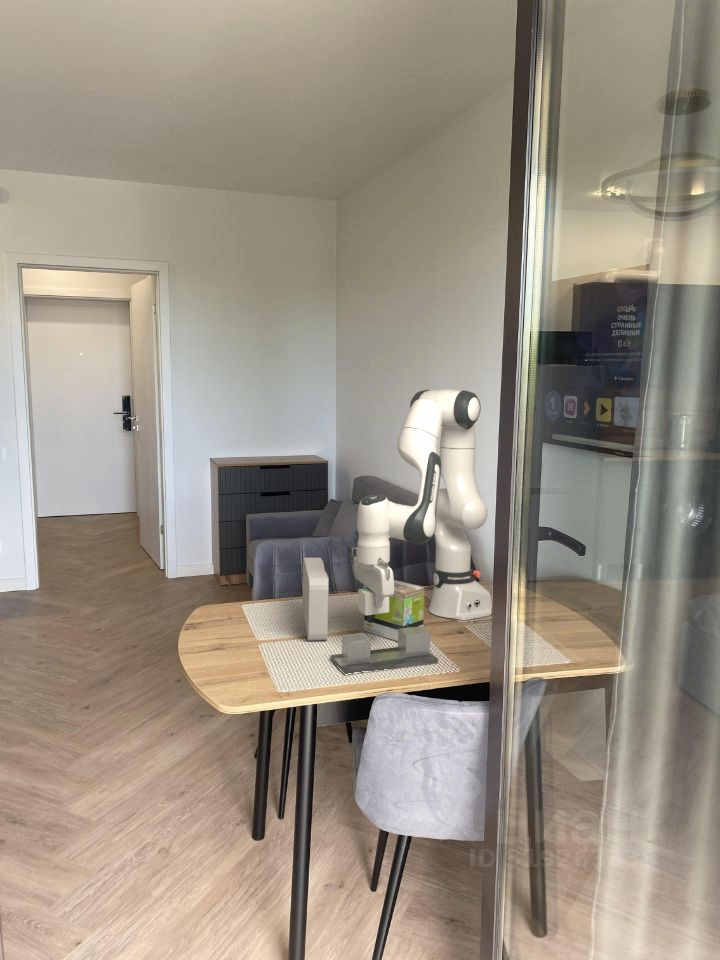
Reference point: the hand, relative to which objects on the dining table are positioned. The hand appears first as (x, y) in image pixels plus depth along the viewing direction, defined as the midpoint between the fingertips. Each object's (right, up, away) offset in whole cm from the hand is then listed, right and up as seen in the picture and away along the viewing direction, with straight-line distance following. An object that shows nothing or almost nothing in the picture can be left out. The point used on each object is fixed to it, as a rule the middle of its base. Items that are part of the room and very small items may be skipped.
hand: (373, 603), depth 203 cm
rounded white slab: (-18, -10, +16) cm, 26 cm away
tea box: (+6, -11, +11) cm, 17 cm away
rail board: (+2, -13, -10) cm, 17 cm away
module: (0, -2, 0) cm, 2 cm away
